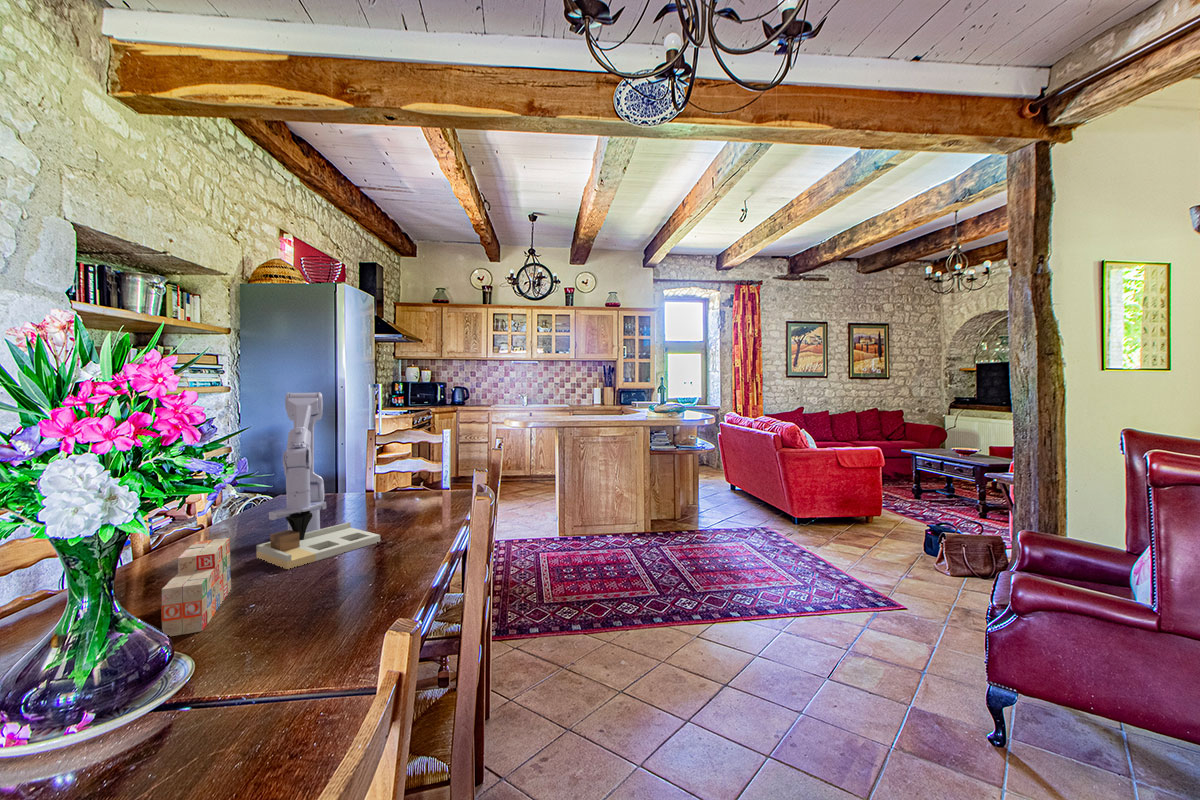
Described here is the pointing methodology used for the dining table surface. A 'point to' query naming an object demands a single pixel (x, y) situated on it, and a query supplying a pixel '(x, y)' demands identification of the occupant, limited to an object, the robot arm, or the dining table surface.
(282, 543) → the walnut block
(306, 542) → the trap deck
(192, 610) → the stack of blocks
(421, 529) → the dining table surface
